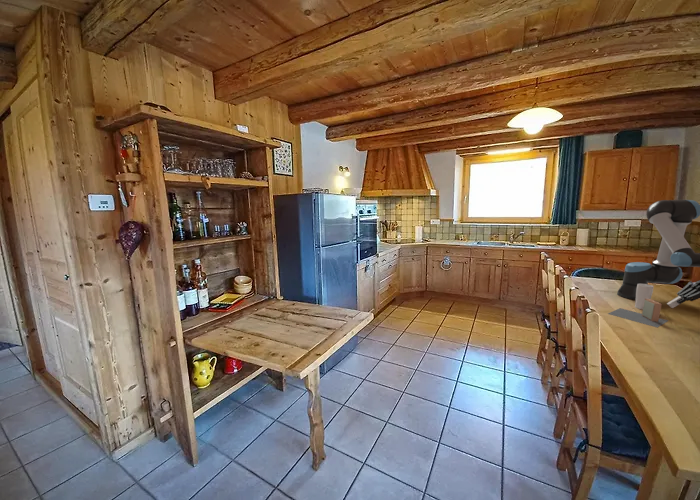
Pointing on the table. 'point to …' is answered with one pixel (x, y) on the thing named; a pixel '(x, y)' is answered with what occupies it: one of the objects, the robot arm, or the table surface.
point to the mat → (637, 317)
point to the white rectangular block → (643, 294)
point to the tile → (651, 310)
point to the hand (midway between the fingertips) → (669, 305)
